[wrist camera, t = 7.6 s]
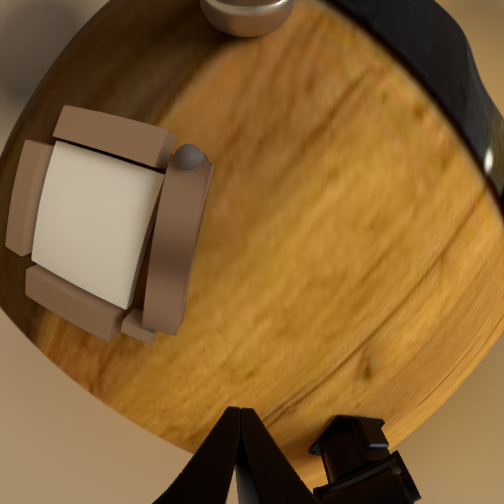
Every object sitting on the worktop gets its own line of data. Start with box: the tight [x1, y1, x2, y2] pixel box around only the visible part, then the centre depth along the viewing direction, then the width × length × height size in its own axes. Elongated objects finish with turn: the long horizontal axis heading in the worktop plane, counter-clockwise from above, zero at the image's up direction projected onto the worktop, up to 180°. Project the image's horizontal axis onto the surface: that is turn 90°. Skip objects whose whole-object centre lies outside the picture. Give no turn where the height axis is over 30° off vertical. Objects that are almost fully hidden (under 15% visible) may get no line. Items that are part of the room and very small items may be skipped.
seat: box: [5, 105, 178, 345], centre depth 17 cm, size 15×15×2 cm
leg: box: [142, 144, 215, 336], centre depth 17 cm, size 12×2×3 cm, turn 166°
